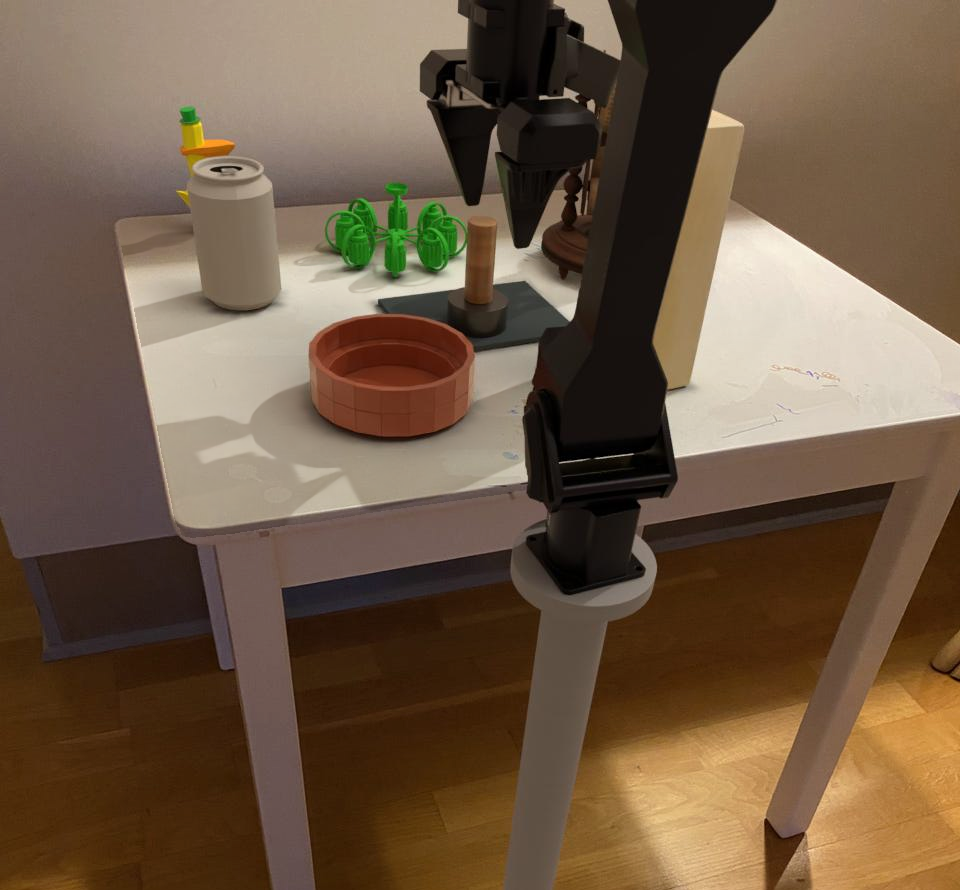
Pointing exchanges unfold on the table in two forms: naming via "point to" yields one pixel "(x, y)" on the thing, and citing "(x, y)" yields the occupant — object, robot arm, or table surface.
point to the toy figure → (198, 143)
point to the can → (235, 232)
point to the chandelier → (396, 234)
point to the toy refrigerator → (697, 251)
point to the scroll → (572, 232)
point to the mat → (523, 313)
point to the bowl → (391, 374)
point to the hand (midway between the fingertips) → (496, 225)
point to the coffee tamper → (479, 285)
